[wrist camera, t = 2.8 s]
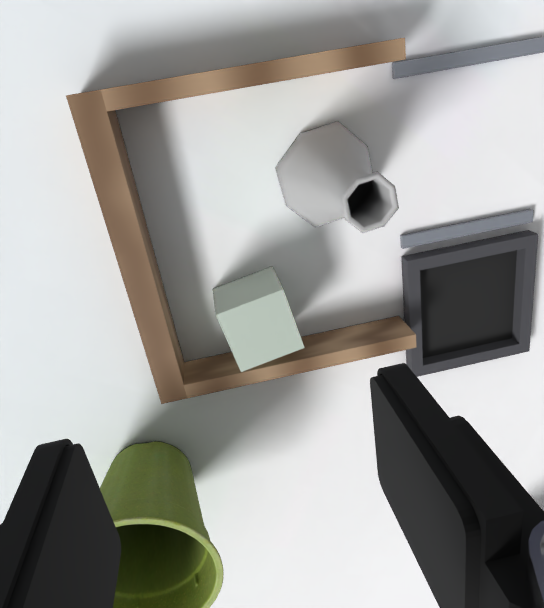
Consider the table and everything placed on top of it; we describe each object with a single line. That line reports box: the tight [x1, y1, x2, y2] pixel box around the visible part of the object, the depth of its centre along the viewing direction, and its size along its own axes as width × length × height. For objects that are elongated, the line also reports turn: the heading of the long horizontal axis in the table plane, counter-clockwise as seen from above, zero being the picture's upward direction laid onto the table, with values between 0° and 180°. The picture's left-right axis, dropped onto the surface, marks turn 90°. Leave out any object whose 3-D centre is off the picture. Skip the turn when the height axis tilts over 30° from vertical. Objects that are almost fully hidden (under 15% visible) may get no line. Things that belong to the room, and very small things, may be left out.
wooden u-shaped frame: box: [66, 38, 416, 404], centre depth 35 cm, size 20×22×4 cm
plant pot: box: [100, 441, 223, 608], centre depth 39 cm, size 12×12×11 cm
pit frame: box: [402, 230, 538, 377], centre depth 41 cm, size 11×11×1 cm
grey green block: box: [213, 266, 305, 372], centre depth 37 cm, size 5×5×5 cm
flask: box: [275, 121, 399, 233], centre depth 31 cm, size 7×7×10 cm
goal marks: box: [392, 37, 544, 249], centre depth 36 cm, size 11×13×1 cm
